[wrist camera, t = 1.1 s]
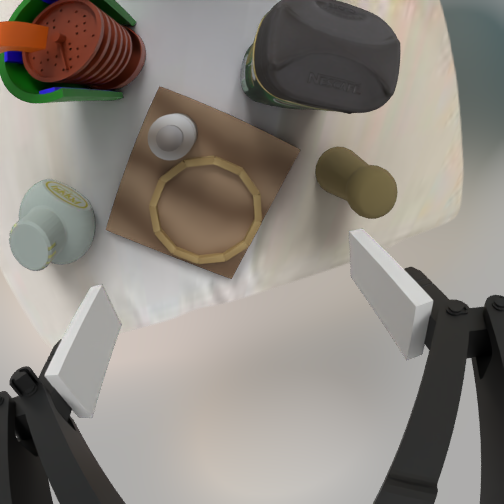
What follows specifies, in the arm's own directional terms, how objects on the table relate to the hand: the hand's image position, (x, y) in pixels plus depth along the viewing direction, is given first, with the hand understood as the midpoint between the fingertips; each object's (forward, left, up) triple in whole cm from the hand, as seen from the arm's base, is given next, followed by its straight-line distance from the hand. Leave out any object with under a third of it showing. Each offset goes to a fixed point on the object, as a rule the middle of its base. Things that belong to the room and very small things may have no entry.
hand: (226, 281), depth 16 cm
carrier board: (+2, -2, -23) cm, 23 cm away
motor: (-8, -18, -23) cm, 30 cm away
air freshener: (+12, -17, -23) cm, 31 cm away
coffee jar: (-14, +1, -23) cm, 27 cm away
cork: (-7, +12, -23) cm, 27 cm away
